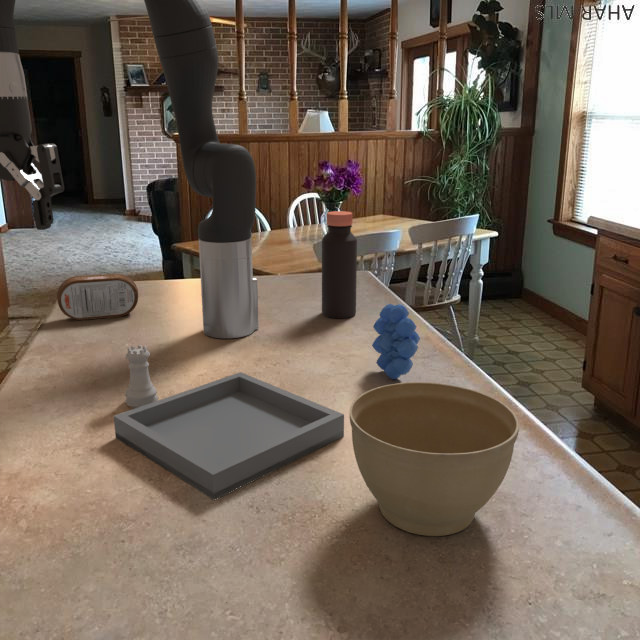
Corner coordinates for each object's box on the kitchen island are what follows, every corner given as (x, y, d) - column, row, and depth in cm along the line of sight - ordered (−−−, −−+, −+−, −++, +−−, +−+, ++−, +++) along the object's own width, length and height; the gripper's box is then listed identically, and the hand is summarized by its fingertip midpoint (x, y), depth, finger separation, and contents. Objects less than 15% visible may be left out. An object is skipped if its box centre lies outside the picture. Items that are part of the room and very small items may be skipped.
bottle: (362, 312, 135) (364, 212, 129) (344, 321, 130) (346, 216, 124) (333, 307, 139) (333, 209, 133) (315, 315, 133) (314, 213, 127)
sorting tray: (241, 391, 97) (240, 372, 97) (343, 436, 84) (344, 414, 83) (115, 437, 84) (113, 415, 83) (214, 500, 70) (213, 474, 70)
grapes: (437, 389, 98) (441, 310, 95) (395, 395, 96) (398, 314, 93) (401, 361, 109) (404, 289, 105) (363, 367, 107) (364, 293, 103)
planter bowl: (477, 584, 58) (486, 471, 55) (318, 525, 66) (318, 424, 63) (529, 496, 71) (539, 401, 68) (391, 456, 79) (394, 370, 76)
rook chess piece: (150, 410, 91) (145, 355, 89) (119, 407, 92) (114, 352, 90) (163, 397, 96) (159, 344, 93) (134, 394, 96) (129, 341, 94)
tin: (139, 311, 136) (136, 270, 133) (140, 316, 133) (137, 274, 131) (59, 318, 131) (54, 276, 129) (59, 323, 129) (54, 280, 126)
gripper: (64, 93, 83) (80, 224, 88) (-37, 95, 86) (-16, 221, 91) (27, 93, 76) (46, 235, 81) (-82, 95, 79) (-56, 232, 84)
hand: (13, 228), depth 86 cm, fingers open, 8 cm apart
